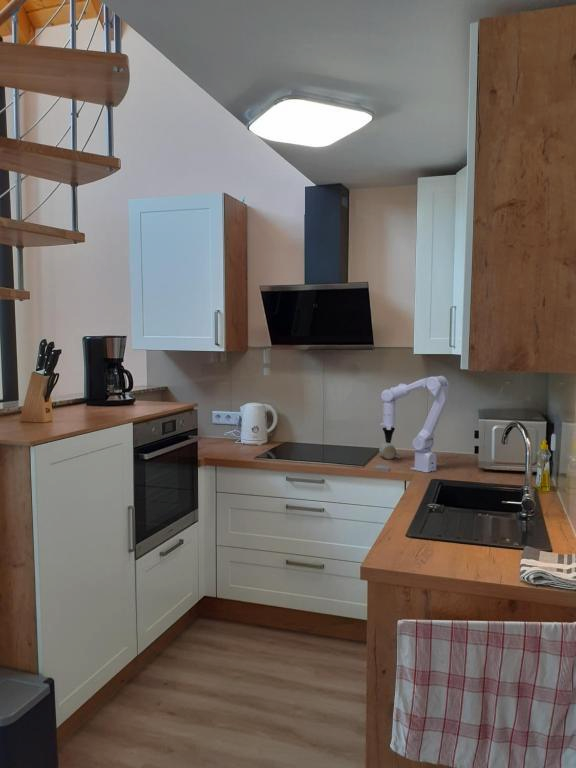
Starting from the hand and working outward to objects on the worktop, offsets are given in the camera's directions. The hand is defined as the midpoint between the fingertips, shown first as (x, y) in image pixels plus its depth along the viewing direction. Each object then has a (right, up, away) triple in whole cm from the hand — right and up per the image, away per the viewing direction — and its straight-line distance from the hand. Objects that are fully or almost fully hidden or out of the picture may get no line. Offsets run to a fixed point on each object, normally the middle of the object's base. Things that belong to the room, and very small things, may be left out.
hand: (388, 442), depth 289 cm
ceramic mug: (+4, -10, +16) cm, 19 cm away
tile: (-4, -10, -9) cm, 15 cm away
